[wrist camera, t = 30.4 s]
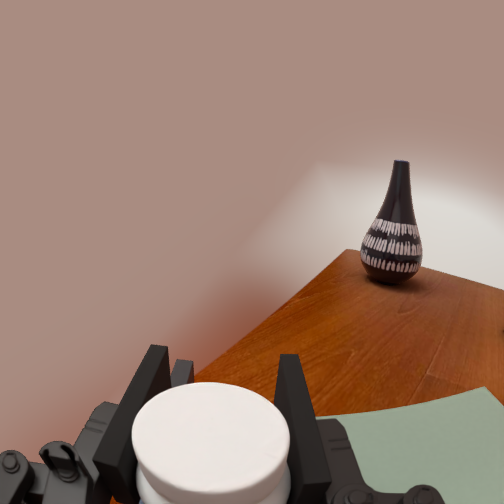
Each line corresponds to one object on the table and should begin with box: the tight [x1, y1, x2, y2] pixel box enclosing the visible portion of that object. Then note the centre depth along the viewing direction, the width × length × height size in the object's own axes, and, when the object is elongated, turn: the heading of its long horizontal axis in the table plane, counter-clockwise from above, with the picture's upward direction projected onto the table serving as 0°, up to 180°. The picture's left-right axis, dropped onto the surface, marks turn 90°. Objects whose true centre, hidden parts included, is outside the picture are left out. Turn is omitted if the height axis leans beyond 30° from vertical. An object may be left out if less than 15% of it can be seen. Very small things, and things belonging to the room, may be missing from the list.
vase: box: [360, 160, 422, 285], centre depth 64 cm, size 16×16×30 cm
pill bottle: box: [132, 382, 291, 504], centre depth 7 cm, size 5×5×8 cm
